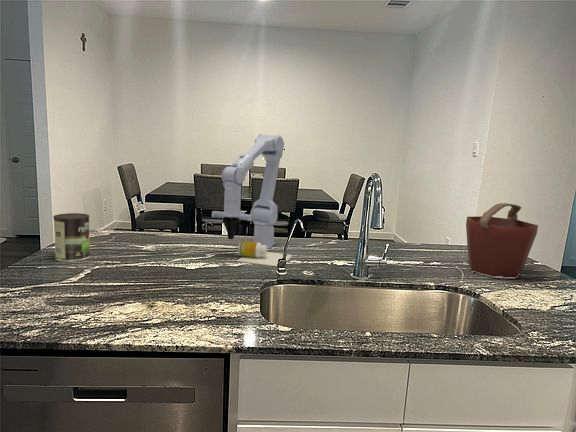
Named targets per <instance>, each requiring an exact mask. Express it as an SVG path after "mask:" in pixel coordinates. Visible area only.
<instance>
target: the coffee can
mask: <svg viewBox="0 0 576 432" xmlns="http://www.w3.org/2000/svg"><path fill="white" fill-rule="evenodd" d="M52 218H53V223H54V225H53V229H54V232H53V233H54V251H55V252H54V253H55V254H54V255H55V258H54V260H55V261H57V262H63V263H75V262H81V261H86V260H89V259H90V258H91V252H90V250H91V249H90V214H86V213H78V212H75V213H74V212H73V213H71V212H70V213H68V212H67V213H60V214H55V215H53V217H52Z"/></svg>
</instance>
